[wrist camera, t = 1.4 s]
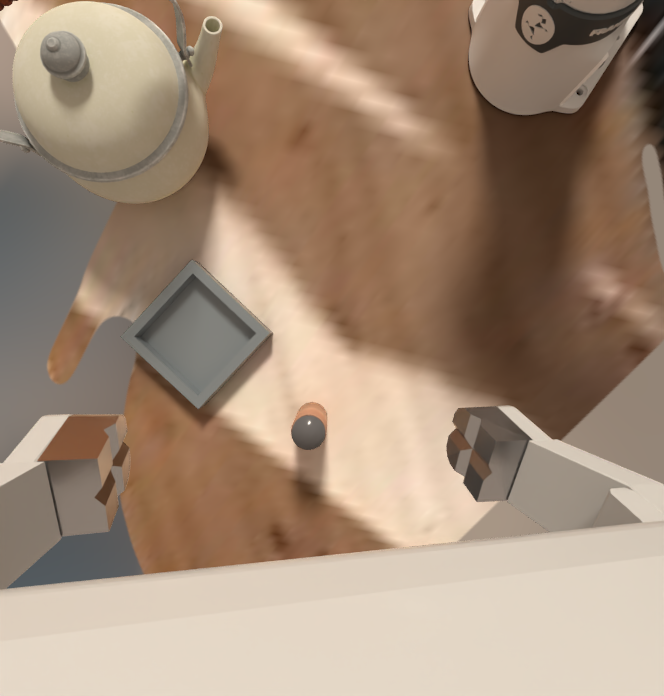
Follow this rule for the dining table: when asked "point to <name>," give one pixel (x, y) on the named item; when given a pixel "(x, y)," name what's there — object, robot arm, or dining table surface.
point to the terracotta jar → (309, 426)
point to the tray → (196, 334)
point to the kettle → (114, 98)
